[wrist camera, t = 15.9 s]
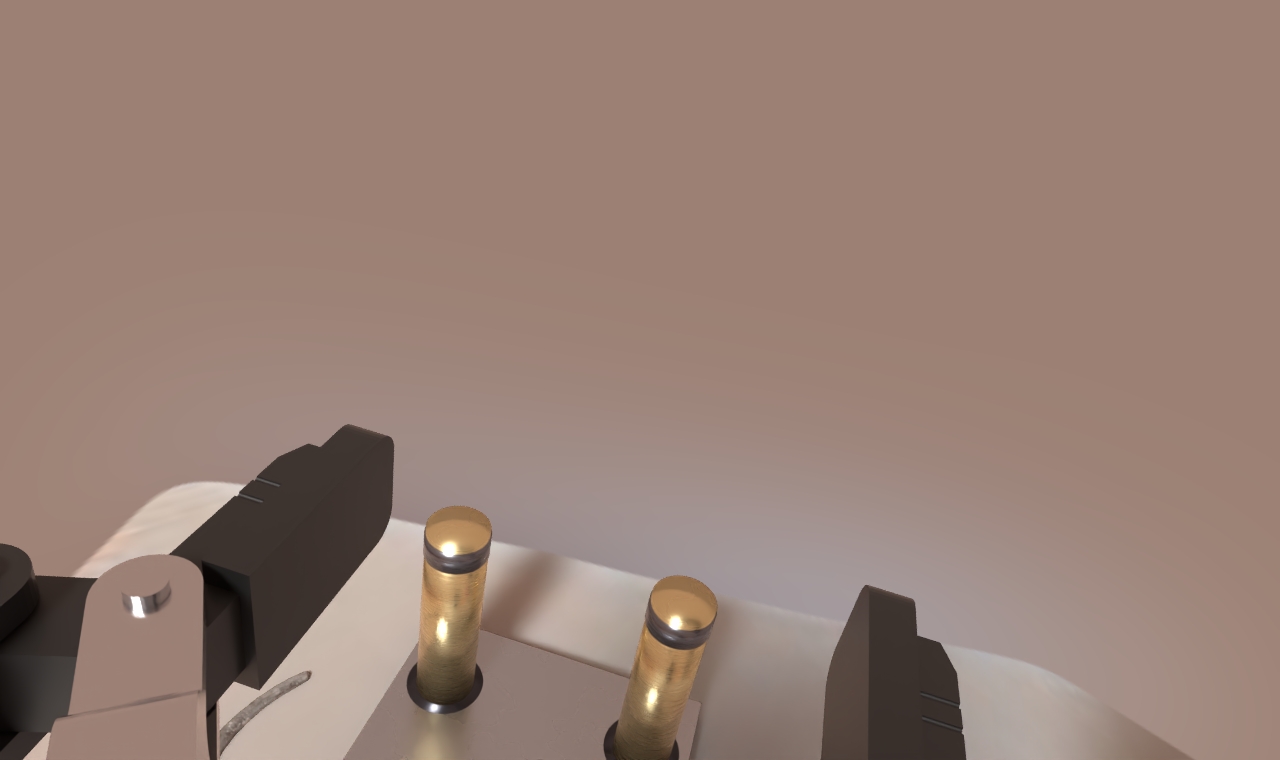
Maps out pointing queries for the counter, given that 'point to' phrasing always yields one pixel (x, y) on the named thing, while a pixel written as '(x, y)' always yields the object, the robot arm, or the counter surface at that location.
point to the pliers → (258, 707)
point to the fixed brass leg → (451, 602)
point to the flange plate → (508, 712)
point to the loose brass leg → (664, 668)
